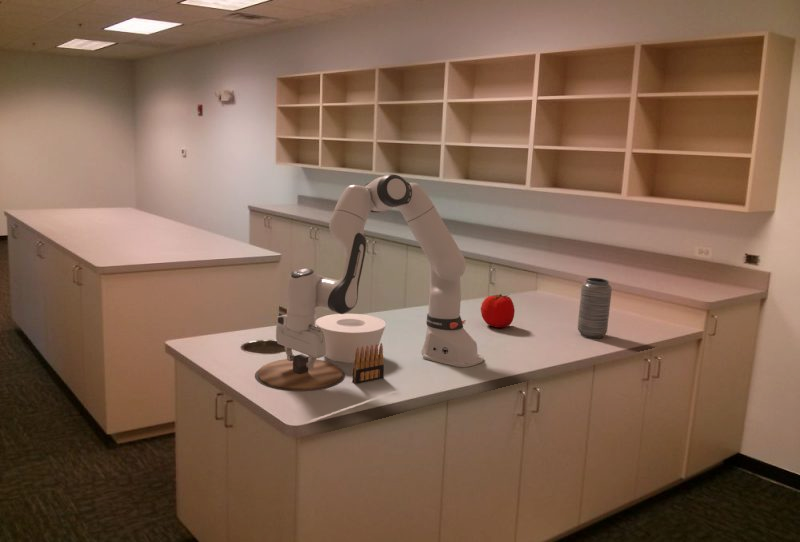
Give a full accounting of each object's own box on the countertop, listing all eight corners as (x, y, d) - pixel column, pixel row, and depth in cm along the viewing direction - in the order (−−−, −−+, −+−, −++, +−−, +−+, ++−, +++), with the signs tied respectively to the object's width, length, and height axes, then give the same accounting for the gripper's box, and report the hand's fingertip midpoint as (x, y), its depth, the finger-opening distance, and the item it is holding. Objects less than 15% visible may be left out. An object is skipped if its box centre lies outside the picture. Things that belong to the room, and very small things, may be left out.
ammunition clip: (380, 378, 217) (382, 341, 215) (383, 380, 215) (385, 343, 213) (352, 384, 211) (353, 346, 208) (355, 386, 209) (356, 348, 207)
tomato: (520, 330, 280) (522, 297, 277) (490, 332, 275) (492, 299, 272) (500, 320, 294) (503, 289, 291) (472, 321, 289) (474, 290, 286)
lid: (359, 376, 215) (359, 358, 214) (294, 396, 196) (294, 377, 195) (305, 356, 232) (306, 339, 231) (241, 373, 213) (241, 354, 212)
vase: (581, 329, 285) (587, 275, 281) (609, 334, 280) (615, 279, 275) (573, 335, 275) (578, 280, 271) (602, 341, 270) (608, 284, 265)
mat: (363, 378, 216) (363, 376, 216) (293, 400, 195) (293, 398, 195) (305, 356, 234) (306, 354, 234) (236, 374, 214) (236, 372, 213)
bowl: (309, 347, 244) (309, 314, 242) (374, 344, 252) (375, 312, 249) (322, 369, 222) (323, 334, 220) (392, 365, 229) (394, 331, 227)
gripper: (331, 327, 207) (329, 371, 209) (288, 313, 220) (287, 354, 223) (315, 331, 202) (314, 375, 205) (272, 316, 216) (272, 358, 218)
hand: (300, 364), depth 214 cm, fingers open, 8 cm apart
